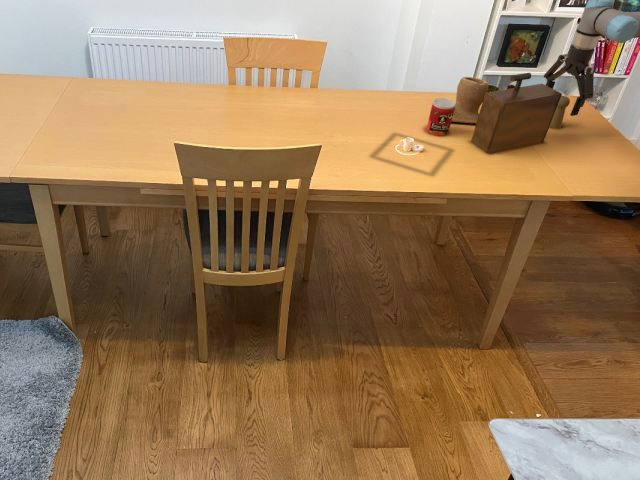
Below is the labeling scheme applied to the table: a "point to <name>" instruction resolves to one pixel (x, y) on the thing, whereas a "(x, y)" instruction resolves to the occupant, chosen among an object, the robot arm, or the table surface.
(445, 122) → the canned food
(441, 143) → the table surface
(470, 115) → the tan brown vase
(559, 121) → the cork
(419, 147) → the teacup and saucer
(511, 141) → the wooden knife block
